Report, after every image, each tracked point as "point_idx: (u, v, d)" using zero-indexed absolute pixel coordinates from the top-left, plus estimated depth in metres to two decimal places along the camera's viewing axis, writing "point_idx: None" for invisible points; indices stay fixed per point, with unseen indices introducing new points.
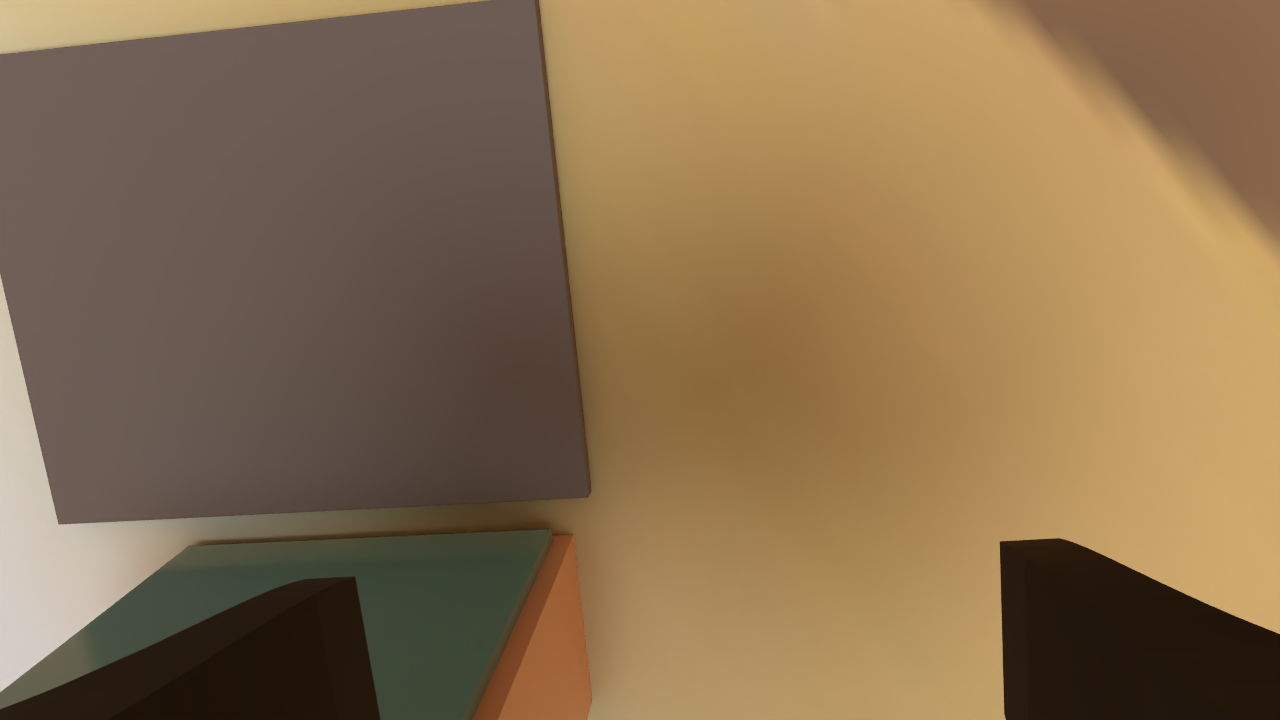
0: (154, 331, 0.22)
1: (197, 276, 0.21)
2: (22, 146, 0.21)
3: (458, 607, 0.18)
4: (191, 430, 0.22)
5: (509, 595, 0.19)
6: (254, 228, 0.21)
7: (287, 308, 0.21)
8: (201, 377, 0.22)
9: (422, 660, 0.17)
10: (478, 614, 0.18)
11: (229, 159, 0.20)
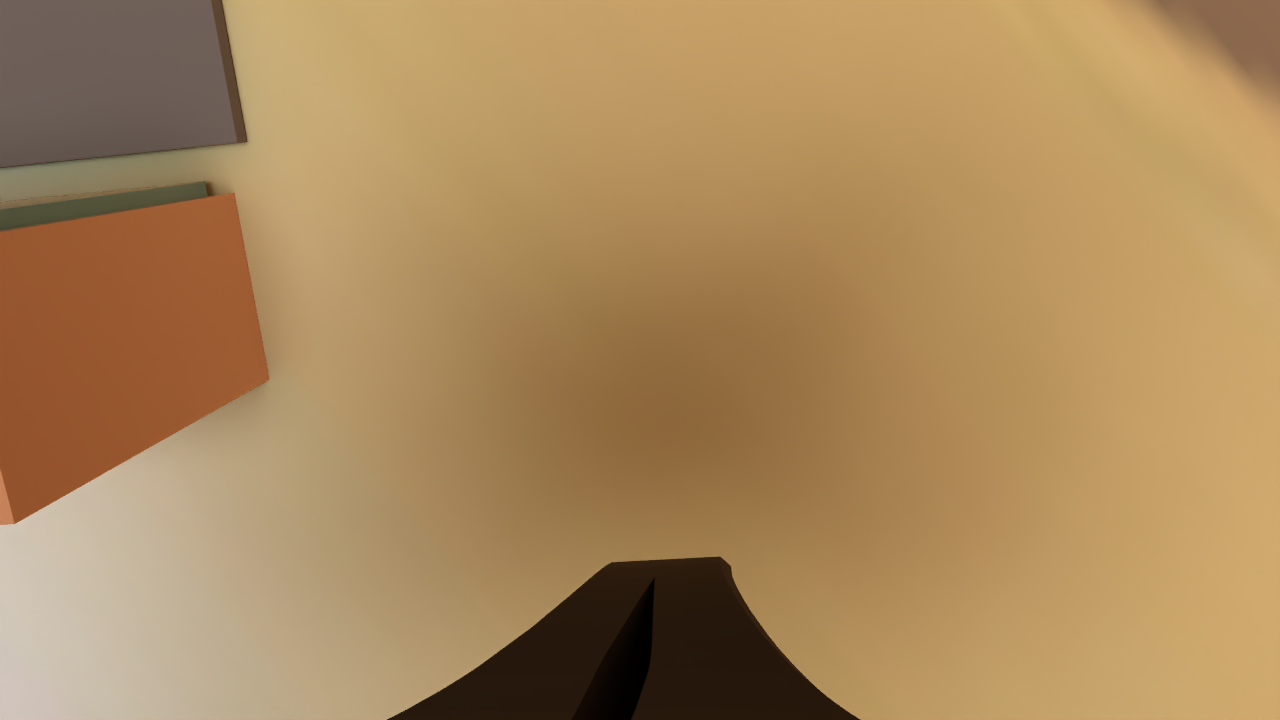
0: None
1: None
2: None
3: (42, 201, 0.18)
4: None
5: None
6: None
7: None
8: None
9: None
10: (55, 200, 0.17)
11: None
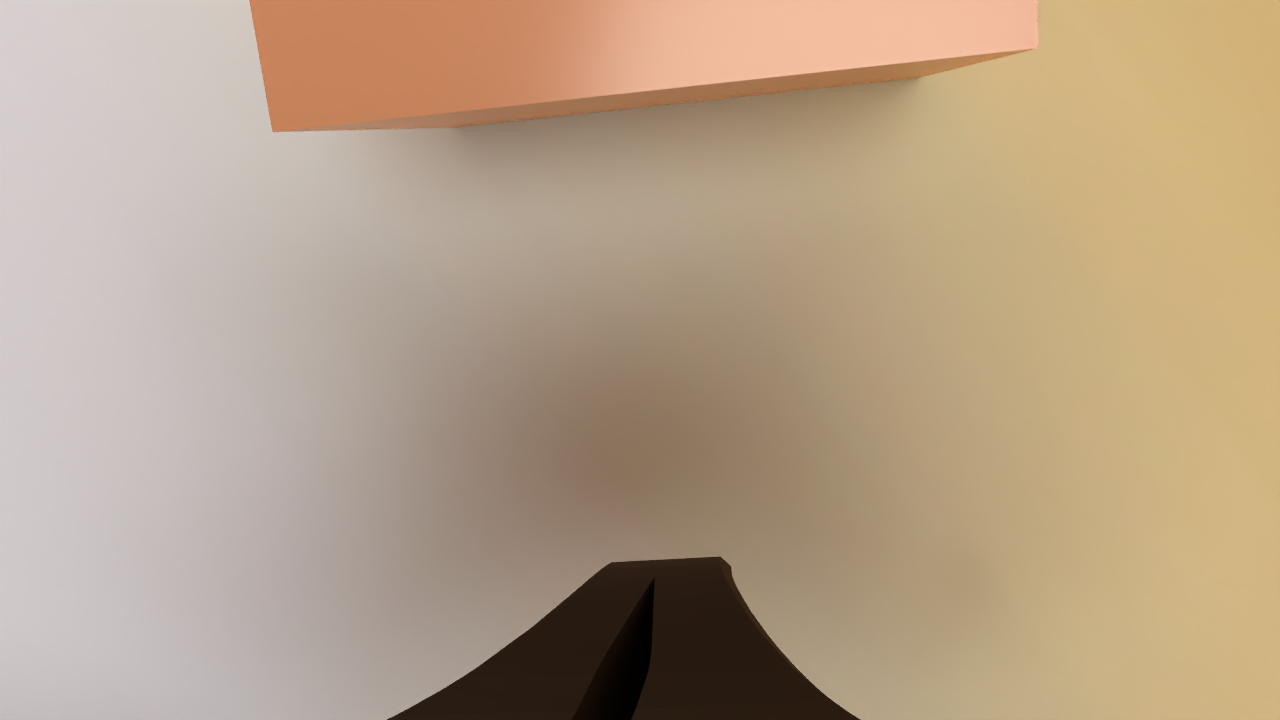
0: None
1: None
2: None
3: None
4: None
5: None
6: None
7: None
8: None
9: None
10: None
11: None
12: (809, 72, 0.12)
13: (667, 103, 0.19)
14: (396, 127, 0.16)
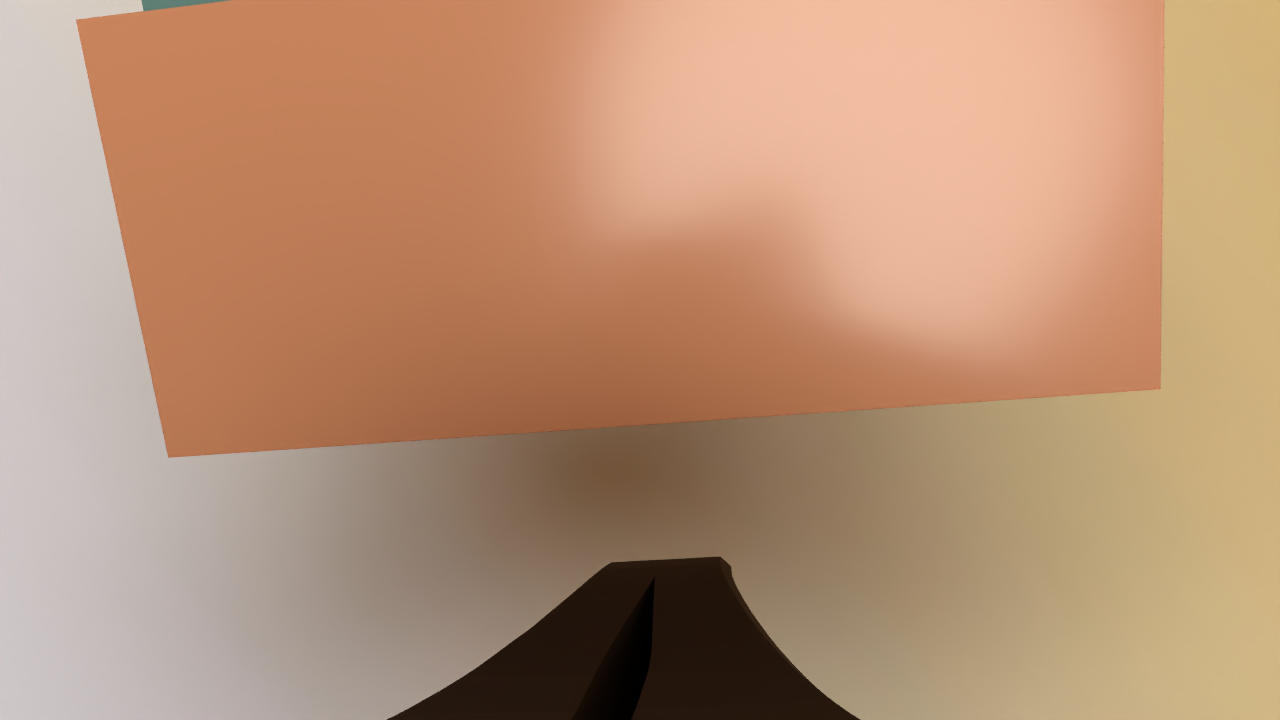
0: None
1: None
2: None
3: None
4: None
5: None
6: None
7: None
8: None
9: None
10: None
11: None
12: (858, 407, 0.09)
13: None
14: None
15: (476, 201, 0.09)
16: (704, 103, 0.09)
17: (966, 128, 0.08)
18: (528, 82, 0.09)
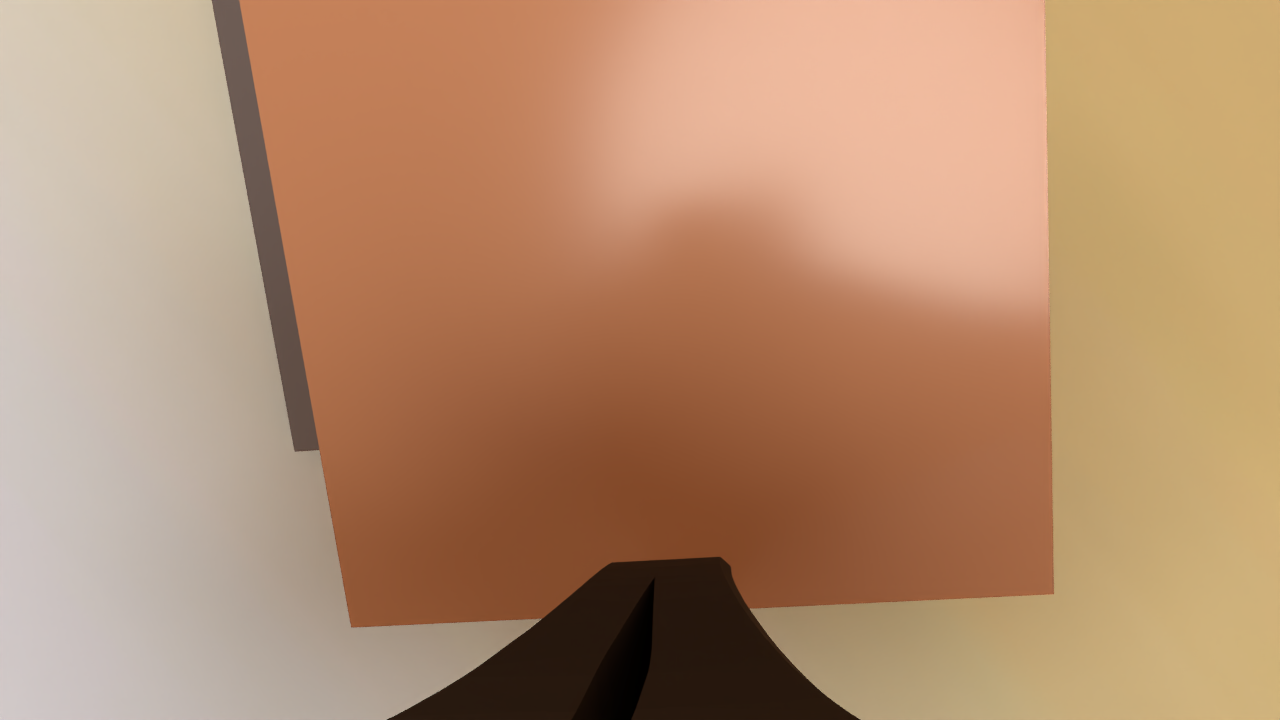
0: None
1: None
2: None
3: None
4: None
5: None
6: None
7: None
8: None
9: None
10: None
11: None
12: None
13: (666, 552, 0.13)
14: (317, 306, 0.13)
15: None
16: None
17: None
18: None
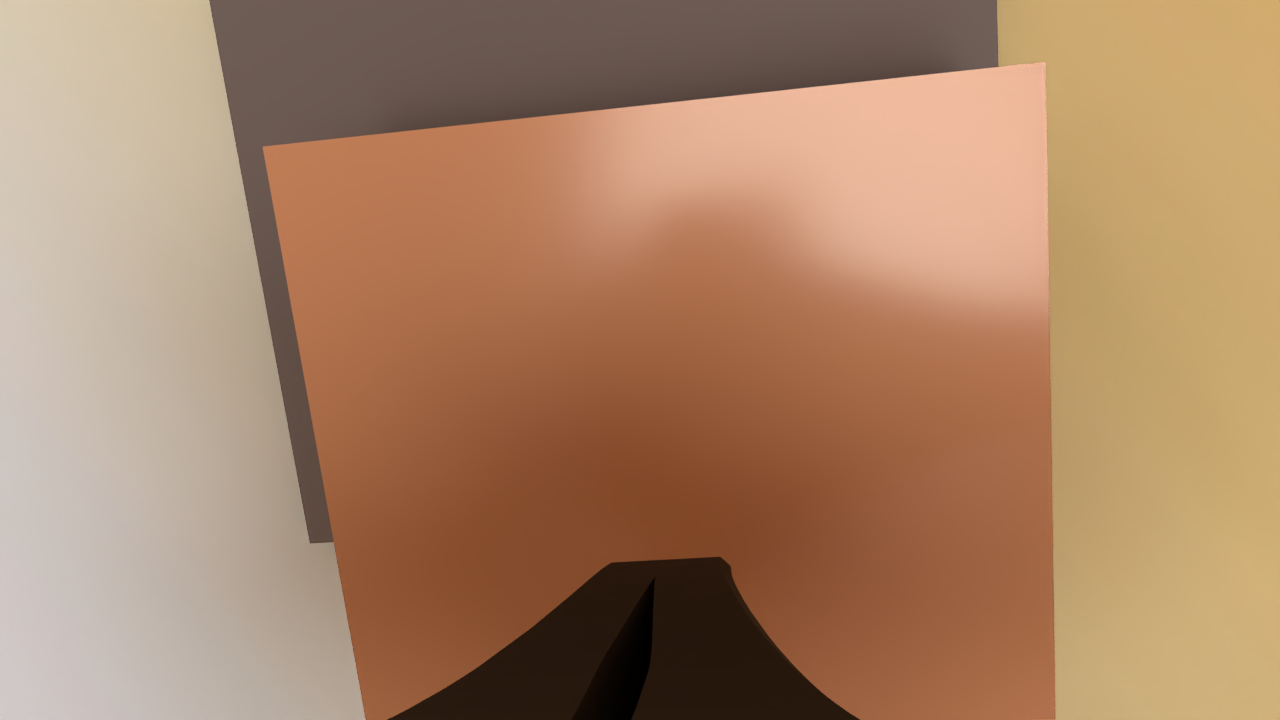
0: None
1: None
2: (288, 58, 0.16)
3: None
4: None
5: None
6: None
7: None
8: None
9: None
10: None
11: (562, 69, 0.16)
12: (811, 91, 0.11)
13: None
14: (338, 439, 0.13)
15: None
16: None
17: None
18: None
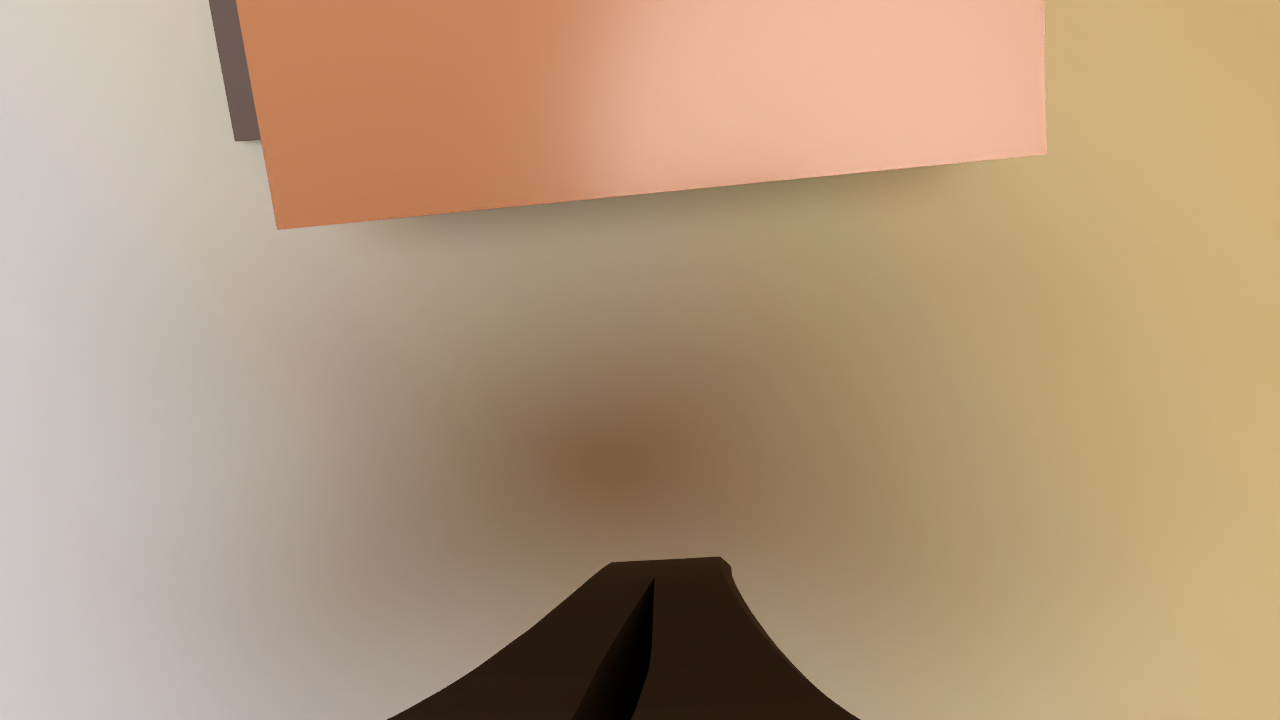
0: None
1: None
2: None
3: None
4: None
5: None
6: None
7: None
8: None
9: None
10: None
11: None
12: None
13: (620, 123, 0.12)
14: None
15: None
16: None
17: None
18: None
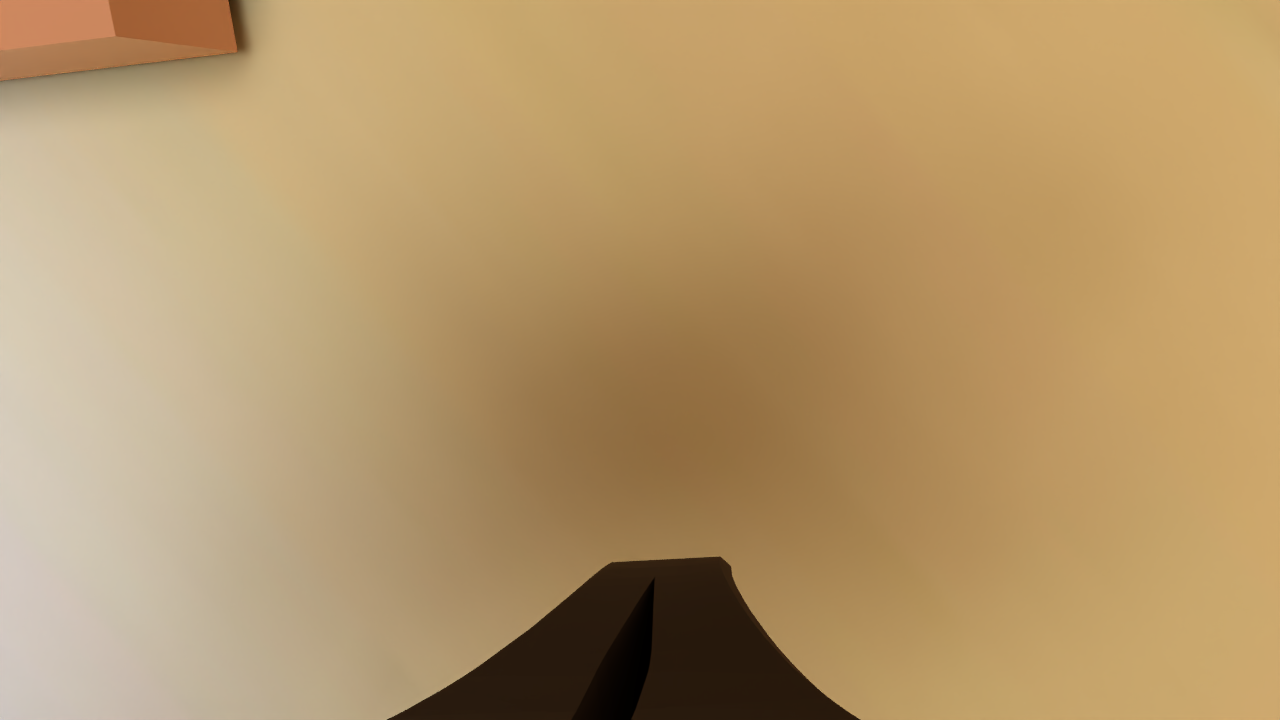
0: None
1: None
2: None
3: None
4: None
5: None
6: None
7: None
8: None
9: None
10: None
11: None
12: None
13: None
14: None
15: None
16: None
17: None
18: None
